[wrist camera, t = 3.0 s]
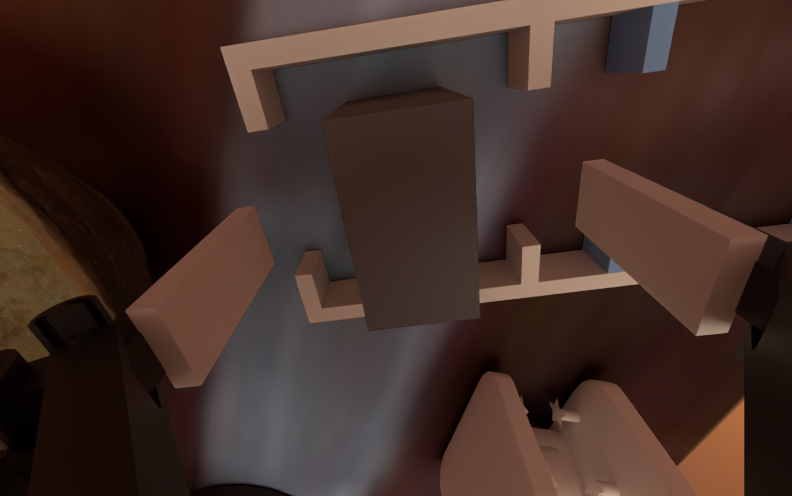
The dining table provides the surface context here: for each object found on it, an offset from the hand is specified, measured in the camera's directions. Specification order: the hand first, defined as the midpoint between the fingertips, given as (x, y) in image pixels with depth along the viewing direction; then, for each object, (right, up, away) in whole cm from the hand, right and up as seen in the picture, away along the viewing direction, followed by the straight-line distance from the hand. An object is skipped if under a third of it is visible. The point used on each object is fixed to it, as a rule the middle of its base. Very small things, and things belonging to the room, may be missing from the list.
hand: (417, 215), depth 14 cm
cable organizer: (+10, -16, +17) cm, 25 cm away
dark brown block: (0, +3, +6) cm, 7 cm away
